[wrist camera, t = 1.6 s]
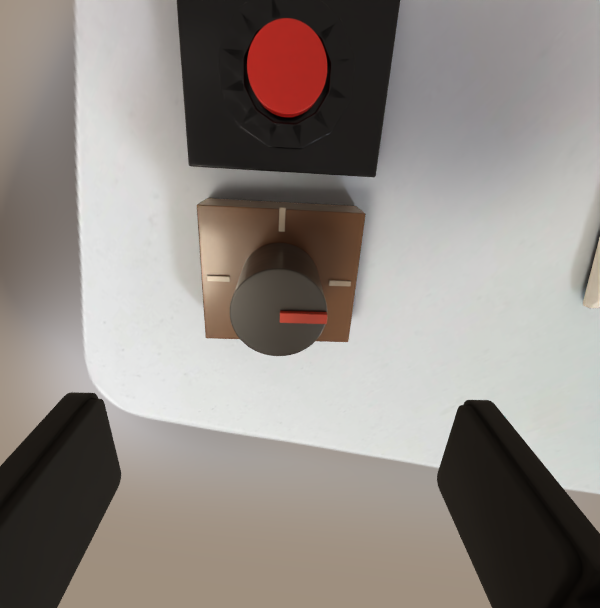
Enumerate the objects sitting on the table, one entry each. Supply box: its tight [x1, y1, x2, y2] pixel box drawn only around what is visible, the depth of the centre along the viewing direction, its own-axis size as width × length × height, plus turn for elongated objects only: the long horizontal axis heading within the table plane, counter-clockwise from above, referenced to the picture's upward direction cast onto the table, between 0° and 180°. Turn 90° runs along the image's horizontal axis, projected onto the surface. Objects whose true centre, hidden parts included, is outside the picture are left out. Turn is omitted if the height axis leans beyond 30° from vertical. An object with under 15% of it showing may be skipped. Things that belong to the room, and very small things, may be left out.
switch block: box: [177, 0, 400, 177], centre depth 18 cm, size 11×9×4 cm
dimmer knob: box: [230, 243, 328, 356], centre depth 19 cm, size 5×5×5 cm
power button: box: [247, 18, 327, 117], centre depth 16 cm, size 4×4×2 cm
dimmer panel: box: [197, 198, 365, 342], centre depth 23 cm, size 10×9×3 cm
